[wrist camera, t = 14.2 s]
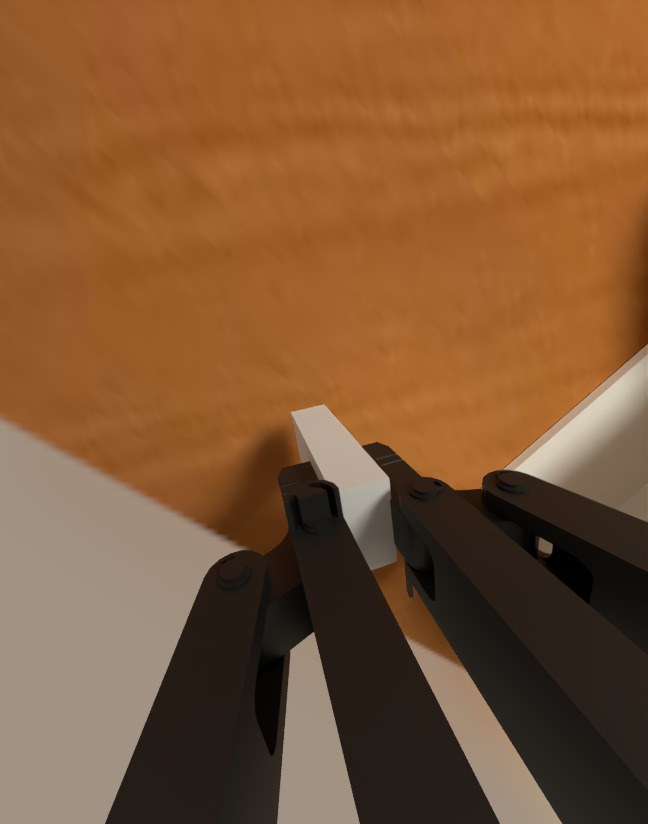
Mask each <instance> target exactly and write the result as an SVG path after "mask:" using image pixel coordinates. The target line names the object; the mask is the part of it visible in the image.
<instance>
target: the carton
mask: <svg viewBox="0 0 648 824" xmlns="http://www.w3.org/2000/svg"><path fill="white" fill-rule="evenodd" d="M503 470H512V471H519V472H522V473H526V474H529V475H531V476H534V477H536V478H539V479H541V480H544V481H546V482H549V483H551V484H554V485H556V486H559V487H561V488H564V489H566V490H569V491H571V492H574V493H576V494H579V495H581V496H584V497H586V498H589V499H591V500H594V501H596V502H599V503H601V504H604V505H606V506H609V507H611V508H614V509H616V510H619V511H621V512H624V513H626V514H628V515H631V516H633V517H636V518H638V519H641V520H643V521H646V522H648V344H647V345H646V346H645V347H643V348H642V349H641V350H640V351H639V352H638V353H637V354H635V355H634V356H633V357H632V358H631V359H630V360H628V361H627V362H626V363H625V364H624V365H623V366H622V367H620V368H619V369H618V370H617V371H616V372H615V373H613V374H612V375H611V376H610V377H609V378H608V379H607V380H605V381H604V382H603V383H602V384H601V385H600V386H598V387H597V388H596V389H595V390H594V391H593V392H592V393H590V394H589V395H588V396H587V397H586V398H585V399H584V400H582V401H581V402H580V403H579V404H578V405H577V406H575V407H574V408H573V409H572V410H571V411H570V412H569V413H567V414H566V415H565V416H564V417H563V418H562V419H560V420H559V421H558V422H557V423H556V424H555V425H554V426H552V427H551V428H550V429H549V430H548V431H547V432H545V433H544V434H543V435H542V436H541V437H540V438H539V439H537V440H536V441H535V442H534V443H533V444H532V445H531V446H529V447H528V448H527V449H526V450H525V451H524V452H522V453H521V454H520V455H519V456H518V457H517V458H516V459H514V460H513V461H512V462H511V463H510V464H509V465H507V466H506V467H505V468H504V469H503ZM481 489H482V488H481ZM552 547H553V544H551V543H549V542H547V541H546V540H544V539H542V538H540V539H539V550H540V551H542V552H545V553H548V554H552Z"/></svg>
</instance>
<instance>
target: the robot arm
mask: <svg viewBox="0 0 648 824" xmlns="http://www.w3.org/2000/svg"><path fill="white" fill-rule="evenodd" d="M291 415H292V420H293V425H294V430H295V435H296V439H297V444H298V449H299V454H300V459H301V464H297V465H293V466H290V467H286V468H282V470H281V472H280V474H279V476H278V480H279V485H280V489H281V493H282V497H283V502H284V507H285V511H286V516H287V520H288V524H289V530H288V533H287V535H286V537H285V539H284V540H283V541H282V542H281V543H280V544H279V545H278V546H277V547H276V548H274V549H273V550H272V551H270V552H268V553H267V554H265V555H263V556H261V554H259V553H257V552H254V551H249V550H241V551H238V552H234V553H231V554H229V555H227V556H225V557H223V558H222V559H220V560H219V561H217V562H216V563H215V564H214V565H213V566H212V567H211V568H210V569H209V571H208V573H207V574H206V576H205V577H204V579H203V582H202V584H201V587H200V589H199V592H198V594H197V597H196V599H195V602H194V604H193V606H192V609H191V611H190V614H189V616H188V619H187V621H186V624H185V627H184V629H183V631H182V634H181V637H180V639H179V641H178V644H177V646H176V649H175V651H174V654H173V656H172V659H171V661H170V664H169V666H168V669H167V671H166V674H165V676H164V679H163V681H162V684H161V686H160V688H159V691H158V693H157V696H156V698H155V701H154V703H153V706H152V708H151V711H150V713H149V716H148V718H147V721H146V723H145V726H144V728H143V731H142V733H141V736H140V738H139V741H138V743H137V746H136V748H135V751H134V753H133V756H132V758H131V761H130V763H129V766H128V768H127V771H126V773H125V776H124V778H123V781H122V783H121V786H120V788H119V790H118V793H117V795H116V798H115V801H114V803H113V806H112V808H111V810H110V813H109V815H108V818H107V820H106V823H105V824H277V817H278V804H279V792H280V791H279V789H280V779H281V766H282V753H283V740H284V727H285V714H286V702H287V689H288V677H289V663H290V650H291V649H292V648H293V647H295V646H296V645H297V644H299V643H300V642H301V641H302V640H304V639H305V638H306V637H307V636H309V635H310V634H311V633H313V632H314V633H315V637H316V641H317V646H318V649H319V654H320V658H321V662H322V666H323V671H324V675H325V679H326V683H327V688H328V692H329V696H330V700H331V704H332V709H333V713H334V717H335V721H336V725H337V729H338V733H339V738H340V742H341V746H342V750H343V754H344V759H345V763H346V767H347V772H348V776H349V780H350V784H351V788H352V793H353V797H354V801H355V805H356V809H357V813H358V818H359V822H360V824H500V823H499V821H498V819H497V817H496V815H495V813H494V811H493V809H492V807H491V806H490V803H489V801H488V800H487V797H486V796H485V794H484V792H483V790H482V788H481V786H480V784H479V782H478V780H477V778H476V776H475V774H474V772H473V770H472V768H471V766H470V764H469V762H468V760H467V758H466V756H465V754H464V752H463V750H462V748H461V746H460V744H459V742H458V741H457V739H456V737H455V735H454V733H453V731H452V729H451V727H450V725H449V723H448V721H447V719H446V717H445V715H444V713H443V711H442V709H441V707H440V705H439V703H438V701H437V699H436V697H435V695H434V693H433V692H432V689H431V687H430V685H429V684H428V682H427V680H426V678H425V676H424V674H423V672H422V670H421V668H420V666H419V664H418V662H417V660H416V658H415V656H414V654H413V652H412V650H411V648H410V646H409V644H408V642H407V640H406V638H405V636H404V634H403V632H402V630H401V628H400V627H399V625H398V623H397V621H396V619H395V617H394V615H393V613H392V611H391V609H390V607H389V605H388V603H387V601H386V599H385V597H384V595H383V593H382V591H381V589H380V587H379V585H378V583H377V581H376V579H375V577H374V575H373V573H372V571H371V570H374V569H377V568H380V567H383V566H386V565H389V564H392V563H395V562H398V560H397V550H396V546H397V548H398V549H399V551H400V552H401V554H402V555H403V557H404V563H405V574H406V585H407V592H408V595H409V598H411V597H413V586H414V587H415V589H416V591H417V592H418V594H419V595H420V597H421V599H422V600H423V602H424V603H425V605H426V607H427V608H428V610H429V611H430V613H431V615H432V616H433V618H434V619H435V621H436V623H437V624H438V626H439V627H440V629H441V631H442V632H443V634H444V635H445V637H446V639H447V640H448V642H449V643H450V645H451V647H452V648H453V650H454V651H455V653H456V655H457V656H458V658H459V659H460V661H461V663H462V664H463V666H464V667H465V669H466V671H467V672H468V674H469V675H470V677H471V679H472V680H473V682H474V683H475V684H476V686H477V688H478V690H479V691H480V693H481V694H482V696H483V698H484V699H485V701H486V702H487V704H488V706H489V707H490V709H491V710H492V712H493V714H494V715H495V717H496V718H497V720H498V722H499V723H500V725H501V726H502V728H503V730H504V731H505V733H506V734H507V736H508V738H509V739H510V741H511V742H512V744H513V746H514V747H515V749H516V750H517V752H518V753H519V755H520V757H521V758H522V760H523V762H524V763H525V765H526V766H527V768H528V770H529V771H530V773H531V774H532V776H533V778H534V779H535V781H536V782H537V784H538V786H539V787H540V789H541V790H542V792H543V793H544V795H545V797H546V798H547V800H548V801H549V803H550V805H551V806H552V808H553V810H554V811H555V813H556V814H557V816H558V818H559V819H560V821H561V822H562V824H648V522H646V521H643V520H641V519H638V518H636V517H633V516H631V515H628V514H626V513H624V512H621V511H619V510H616V509H614V508H611V507H609V506H606V505H604V504H601V503H599V502H596V501H594V500H591V499H589V498H586V497H584V496H581V495H579V494H576V493H574V492H571V491H569V490H566V489H564V488H561V487H559V486H556V485H554V484H551V483H549V482H546V481H544V480H541V479H539V478H536V477H534V476H531V475H529V474H526V473H522V472H519V471H512V470H498V471H494V472H491V473H488V474H487V475H486V476H484V477H483V482H482V489H473V490H453V489H452V488H451V487H450V486H449V485H448V484H446V483H444V482H443V481H441V480H438V479H434V478H430V477H421V476H420V475H419V474H418V473H417V472H416V471H414V470H413V469H412V468H411V467H410V466H409V465H408V464H407V463H406V462H405V461H404V460H402V458H400V457H399V456H398V455H396V453H395V452H394V451H393V450H392V449H391V448H390V447H389V446H386V445H383V444H381V443H378V442H376V443H372V444H368V445H364V446H361V445H360V444H359V443H358V442H357V441H356V440H355V439H354V438H353V436H352V435H351V434H350V433H349V432H348V431H347V430H346V429H345V427H344V426H343V425H342V424H341V423H340V422H339V421H338V419H337V418H336V417H335V416H334V415H333V414H332V413H331V412H330V410H329V409H328V408H327V407H326V406H325V405H319V406H315V407H311V408H307V409H302V410H298V411H294V412H291ZM540 538H542V539H544V540H546V541H547V542H549V543H551V544H553V547H552V554H548V553H545V552H542V551H540V550H539V539H540ZM412 584H413V585H412Z"/></svg>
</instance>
